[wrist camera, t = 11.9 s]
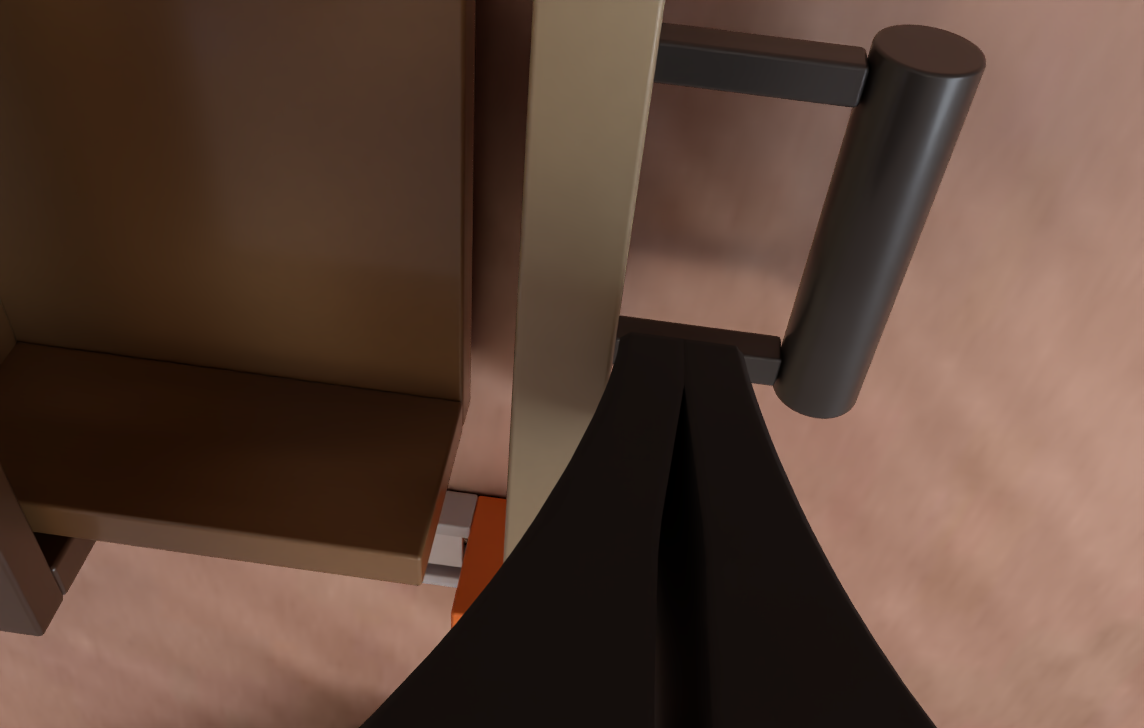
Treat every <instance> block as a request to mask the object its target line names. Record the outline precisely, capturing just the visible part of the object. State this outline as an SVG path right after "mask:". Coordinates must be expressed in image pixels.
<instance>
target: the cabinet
mask: <svg viewBox="0 0 1144 728" xmlns="http://www.w3.org/2000/svg"><path fill="white" fill-rule="evenodd" d="M95 542H96V540H89V539H81V538H74V537H67V536H60V535H53V534H46V533H39V532H33V531H32V529H31V527H30V525H29V522H28V520H27V518H26V516H25V514H24V512H23V510H22V508H21V505H20V503H19V501H18V499H17V497H16V495H15V493H14V491H13V488H12V486H11V484H10V482H9V480H8V478H7V476H6V474H5V471H4V469H3V467H2V465H1V463H0V631H5V632H12V633H19V634H26V635H33V636H42V635H43V634H44V633H45V631H46V629H47V627H48V626H49V624H50V622H51V620H52V619H53V617H54V615H55V613H56V611H57V610H58V608H59V606H60V604H61V602H62V600H63V595H64V594H66V593H67V592H68V590H69V588H70V586H71V585H72V583H73V581H74V579H75V577H76V576H77V574H78V572H79V570H80V569H81V567H82V565H83V563H84V561H85V560H86V558H87V556H88V554H89V553H90V551H91V549H92V547H93V545H94V544H95Z"/></svg>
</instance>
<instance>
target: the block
mask: <svg viewBox="0 0 1144 728" xmlns="http://www.w3.org/2000/svg"><path fill="white" fill-rule="evenodd" d="M506 501H507V499H501V498H493V497H486V496H479V497H477V495H475V494H468V493H461V492H453V491H446V495H445V499H444V503H443V507H442V511H441V514H440V518H439V522H438V526H437V530H436V534H435V537H434V541H433V545H432V549H431V553H430V557H429V560H428V564H427V568H426V572H425V576H424V580H423V582H422V583H426V584H434V585H441V586H448V587H455V588H457V590H456V594H455V598H454V603H453V607H452V611H451V629H452V628H453V627H454V625H455V624H456V623H457V622H458V620H459V619H460V618H461V617H462V615H463V614H464V613H465V612H466V611H467V609H468V608H469V607H470V606H471V604H472V603H473V602H474V601H475V599H476V598H477V597H478V596H479V594H480V593H481V592H482V591H483V590H484V588H485V587H486V586H487V585H488V583H489V582H490V581H491V579H492V578H493V577H494V575H495V574H496V573H497V571H498V570H499V569H500V567H501V566H502V564H503V557H504V538H505V519H506ZM464 538H468V542H467V546H465V545H464Z"/></svg>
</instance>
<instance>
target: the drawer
mask: <svg viewBox="0 0 1144 728" xmlns="http://www.w3.org/2000/svg"><path fill="white" fill-rule="evenodd" d="M664 6H665V0H533V13H532V32H531V50H530V69H529V88H528V107H527V125H526V144H525V163H524V182H523V200H522V219H521V238H520V257H519V275H518V294H517V313H516V332H515V350H514V369H513V388H512V407H511V426H510V444H509V463H508V482H507V501H506V519H505V538H504V557H503V563H504V562H505V560H506V559H507V558H508V556H509V555H510V554H511V552H512V551H513V549H514V548H515V547H516V545H517V544H518V542H519V541H520V540H521V538H522V537H523V535H524V534H525V532H526V531H527V529H528V528H529V526H530V525H531V523H532V522H533V520H534V519H535V517H536V516H537V514H538V513H539V511H540V509H541V508H542V506H543V504H544V503H545V501H546V500H547V498H548V496H549V495H550V493H551V491H552V490H553V488H554V487H555V485H556V483H557V482H558V480H559V478H560V477H561V475H562V474H563V472H564V470H565V469H566V467H567V465H568V463H569V462H570V460H571V458H572V456H573V454H574V452H575V450H576V448H577V446H578V445H579V443H580V441H581V439H582V437H583V435H584V433H585V431H586V429H587V427H588V425H589V423H590V421H591V419H592V417H593V415H594V413H595V411H596V409H597V406H598V404H599V402H600V400H601V397H602V395H603V393H604V391H605V388H606V385H607V383H608V380H609V378H610V375H611V370H612V364H613V365H614V362H615V359H616V356H617V352H618V346H619V340H620V338H621V337H622V336H624V335H626V334H628V333H630V332H637V333H644V334H652V335H659V336H667V337H674V338H682V339H689V340H697V341H704V342H712V343H719V344H727V345H734V346H737V347H738V348H739V350H740V351H741V352H742V353H743V355H744V358H745V362H746V366H747V370H748V373H749V377H750V380H751V383H756V384H763V385H771V386H772V385H773V388H774V391H775V393H776V395H777V396H778V398H779V399H780V400H781V401H782V402H783V403H784V404H785V405H786V406H788V407H789V408H791V409H792V410H794V411H796V412H798V413H800V414H803V415H805V416H809V417H813V418H821V419H828V418H835V417H838V416H841V415H843V414H845V413H847V412H848V411H849V410H851V408H852V407H853V406H854V405H855V403H856V400H857V398H858V395H859V392H860V390H861V387H862V385H863V382H864V379H865V377H866V374H867V372H868V369H869V367H870V364H871V361H872V359H873V356H874V354H875V351H876V348H877V346H878V343H879V341H880V338H881V336H882V333H883V330H884V328H885V325H886V323H887V320H888V317H889V315H890V312H891V310H892V307H893V305H894V302H895V299H896V297H897V294H898V292H899V289H900V286H901V284H902V281H903V279H904V276H905V274H906V271H907V268H908V266H909V263H910V261H911V258H912V255H913V253H914V250H915V248H916V245H917V243H918V240H919V237H920V235H921V232H922V230H923V227H924V224H925V222H926V219H927V217H928V214H929V212H930V209H931V206H932V204H933V201H934V199H935V196H936V193H937V191H938V188H939V186H940V183H941V181H942V178H943V175H944V173H945V170H946V168H947V165H948V162H949V160H950V157H951V155H952V152H953V150H954V147H955V144H956V142H957V139H958V137H959V134H960V131H961V129H962V126H963V124H964V121H965V119H966V116H967V113H968V111H969V108H970V106H971V103H972V100H973V98H974V95H975V93H976V90H977V88H978V85H979V82H980V80H981V77H982V75H983V72H984V69H985V67H986V59H985V56H984V54H983V52H982V51H981V50H980V49H979V48H978V47H977V46H976V45H975V44H973V43H972V42H970V41H969V40H967V39H965V38H963V37H961V36H959V35H957V34H954V33H951V32H949V31H945V30H942V29H938V28H934V27H929V26H922V25H896V26H890V27H887V28H885V29H882V30H881V31H879V32H878V33H877V34H876V35H875V37H874V39H873V41H872V45H871V48H870V51H869V55H868V58H867V54H866V50H865V49H864V48H862V47H856V46H848V45H840V44H832V43H824V42H816V41H808V40H799V39H791V38H783V37H775V36H767V35H759V34H751V33H743V32H735V31H727V30H719V29H711V28H703V27H695V26H687V25H679V24H671V23H662V19H663V12H664ZM474 76H475V0H0V463H1V465H2V467H3V469H4V471H5V474H6V476H7V478H8V480H9V482H10V484H11V486H12V488H13V491H14V493H15V495H16V497H17V499H18V501H19V503H20V505H21V508H22V510H23V512H24V514H25V516H26V518H27V520H28V522H29V525H30V527H31V529H32V531H33V532H39V533H46V534H53V535H60V536H67V537H74V538H81V539H89V540H96V541H103V542H110V543H117V544H124V545H131V546H138V547H146V548H153V549H160V550H167V551H174V552H181V553H188V554H196V555H203V556H210V557H217V558H224V559H231V560H238V561H245V562H253V563H260V564H267V565H274V566H281V567H288V568H295V569H303V570H310V571H317V572H324V573H331V574H338V575H345V576H353V577H360V578H367V579H374V580H381V581H388V582H395V583H402V584H410V585H417V586H418V585H421V584H422V582H423V580H424V576H425V572H426V568H427V564H428V560H429V557H430V553H431V549H432V545H433V541H434V537H435V534H436V530H437V526H438V522H439V518H440V514H441V511H442V507H443V503H444V499H445V495H446V491H447V487H448V484H449V480H450V476H451V472H452V468H453V464H454V461H455V457H456V453H457V449H458V445H459V441H460V438H461V434H462V426H463V425H464V422H465V418H466V414H467V411H468V407H469V403H470V383H471V307H472V230H473V153H474ZM653 82H655V83H662V84H670V85H678V86H686V87H694V88H702V89H710V90H718V91H726V92H734V93H742V94H750V95H758V96H766V97H773V98H781V99H789V100H797V101H805V102H813V103H821V104H829V105H837V106H845V107H853V108H852V112H851V115H850V118H849V122H848V125H847V128H846V132H845V135H844V138H843V142H842V145H841V148H840V152H839V155H838V158H837V162H836V165H835V168H834V172H833V175H832V178H831V182H830V185H829V189H828V192H827V195H826V199H825V202H824V205H823V209H822V212H821V215H820V219H819V222H818V225H817V229H816V232H815V235H814V239H813V242H812V245H811V249H810V252H809V255H808V259H807V262H806V265H805V269H804V272H803V276H802V279H801V282H800V286H799V289H798V292H797V296H796V299H795V302H794V306H793V309H792V312H791V316H790V319H789V322H788V326H787V329H786V332H785V336H784V339H783V342H782V346H781V339H780V337H778V336H771V335H763V334H756V333H748V332H740V331H733V330H725V329H718V328H710V327H703V326H695V325H687V324H680V323H672V322H665V321H657V320H650V319H642V318H635V317H627V316H619V315H620V308H621V301H622V294H623V287H624V280H625V274H626V267H627V260H628V253H629V246H630V239H631V232H632V225H633V219H634V212H635V205H636V198H637V191H638V184H639V177H640V170H641V164H642V157H643V150H644V143H645V136H646V129H647V122H648V116H649V109H650V102H651V95H652V88H653Z"/></svg>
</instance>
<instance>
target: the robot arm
mask: <svg viewBox="0 0 1144 728" xmlns="http://www.w3.org/2000/svg"><path fill="white" fill-rule="evenodd" d="M359 728H937V727H936V726H935V725H934V723H933V722H932V721H931V719H930V718H929V717H928V715H927V714H926V713H925V711H924V710H923V709H922V707H921V706H920V705H919V703H918V702H917V701H916V699H915V698H914V697H913V695H912V694H911V693H910V691H909V690H908V688H907V687H906V686H905V684H904V683H903V681H902V680H901V678H900V677H899V675H898V674H897V672H896V671H895V669H894V668H893V666H892V665H891V663H890V662H889V660H888V659H887V657H886V656H885V654H884V653H883V651H882V650H881V648H880V647H879V645H878V644H877V642H876V641H875V639H874V638H873V636H872V634H871V633H870V631H869V630H868V628H867V626H866V625H865V623H864V622H863V620H862V618H861V617H860V615H859V613H858V612H857V610H856V609H855V607H854V605H853V604H852V602H851V600H850V599H849V597H848V595H847V593H846V592H845V590H844V588H843V587H842V585H841V583H840V581H839V579H838V578H837V576H836V574H835V572H834V570H833V569H832V567H831V565H830V563H829V561H828V559H827V557H826V556H825V554H824V552H823V550H822V548H821V546H820V544H819V542H818V540H817V538H816V536H815V535H814V533H813V531H812V529H811V527H810V525H809V523H808V521H807V519H806V516H805V514H804V512H803V510H802V508H801V506H800V504H799V502H798V500H797V497H796V495H795V493H794V491H793V489H792V486H791V484H790V482H789V480H788V477H787V475H786V473H785V471H784V468H783V466H782V464H781V462H780V459H779V457H778V455H777V452H776V450H775V447H774V445H773V442H772V440H771V437H770V435H769V432H768V429H767V427H766V424H765V421H764V419H763V416H762V413H761V411H760V408H759V405H758V402H757V399H756V396H755V393H754V390H753V387H752V384H751V380H750V377H749V373H748V370H747V366H746V362H745V358H744V355H743V353H742V352H741V351H740V350H739V348H738V347H737V346H734V345H727V344H719V343H712V342H704V341H697V340H689V339H682V338H674V337H667V336H659V335H652V334H644V333H637V332H630V333H628V334H626V335H624V336H622V337H621V338H620V340H619V346H618V352H617V356H616V359H615V362H614V366H613V369H612V372H611V375H610V378H609V380H608V383H607V385H606V388H605V391H604V393H603V395H602V397H601V400H600V402H599V404H598V406H597V409H596V411H595V413H594V415H593V417H592V419H591V421H590V423H589V425H588V427H587V429H586V431H585V433H584V435H583V437H582V439H581V441H580V443H579V445H578V446H577V448H576V450H575V452H574V454H573V456H572V458H571V460H570V462H569V463H568V465H567V467H566V469H565V470H564V472H563V474H562V475H561V477H560V478H559V480H558V482H557V483H556V485H555V487H554V488H553V490H552V491H551V493H550V495H549V496H548V498H547V500H546V501H545V503H544V504H543V506H542V508H541V509H540V511H539V513H538V514H537V516H536V517H535V519H534V520H533V522H532V523H531V525H530V526H529V528H528V529H527V531H526V532H525V534H524V535H523V537H522V538H521V540H520V541H519V542H518V544H517V545H516V547H515V548H514V549H513V551H512V552H511V554H510V555H509V556H508V558H507V559H506V560H505V562H504V563H503V564H502V566H501V567H500V569H499V570H498V571H497V573H496V574H495V575H494V577H493V578H492V579H491V581H490V582H489V583H488V585H487V586H486V587H485V588H484V590H483V591H482V592H481V593H480V594H479V596H478V597H477V598H476V599H475V601H474V602H473V603H472V604H471V606H470V607H469V608H468V609H467V611H466V612H465V613H464V614H463V615H462V617H461V618H460V619H459V620H458V622H457V623H456V624H455V625H454V627H453V628H452V629H451V630H450V631H449V632H448V634H447V635H446V636H445V637H444V638H443V639H442V641H441V642H440V643H439V644H438V645H437V646H436V647H435V648H434V650H433V651H432V652H431V653H430V654H429V655H428V656H427V657H426V658H425V659H424V661H423V662H422V663H421V664H420V665H419V666H418V667H417V668H416V669H415V670H414V671H413V672H412V673H411V674H410V675H409V676H408V677H407V679H406V680H405V681H404V682H403V683H402V684H401V685H400V686H399V687H398V688H397V689H396V690H395V691H394V692H393V693H392V694H391V695H390V697H389V698H388V699H387V700H386V701H385V702H384V703H383V704H382V705H381V706H380V707H379V708H378V709H377V710H376V711H375V712H374V713H373V714H372V715H371V716H370V717H369V718H368V719H367V720H366V721H365V722H364V723H363V724H362V725H361V726H360V727H359Z"/></svg>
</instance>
